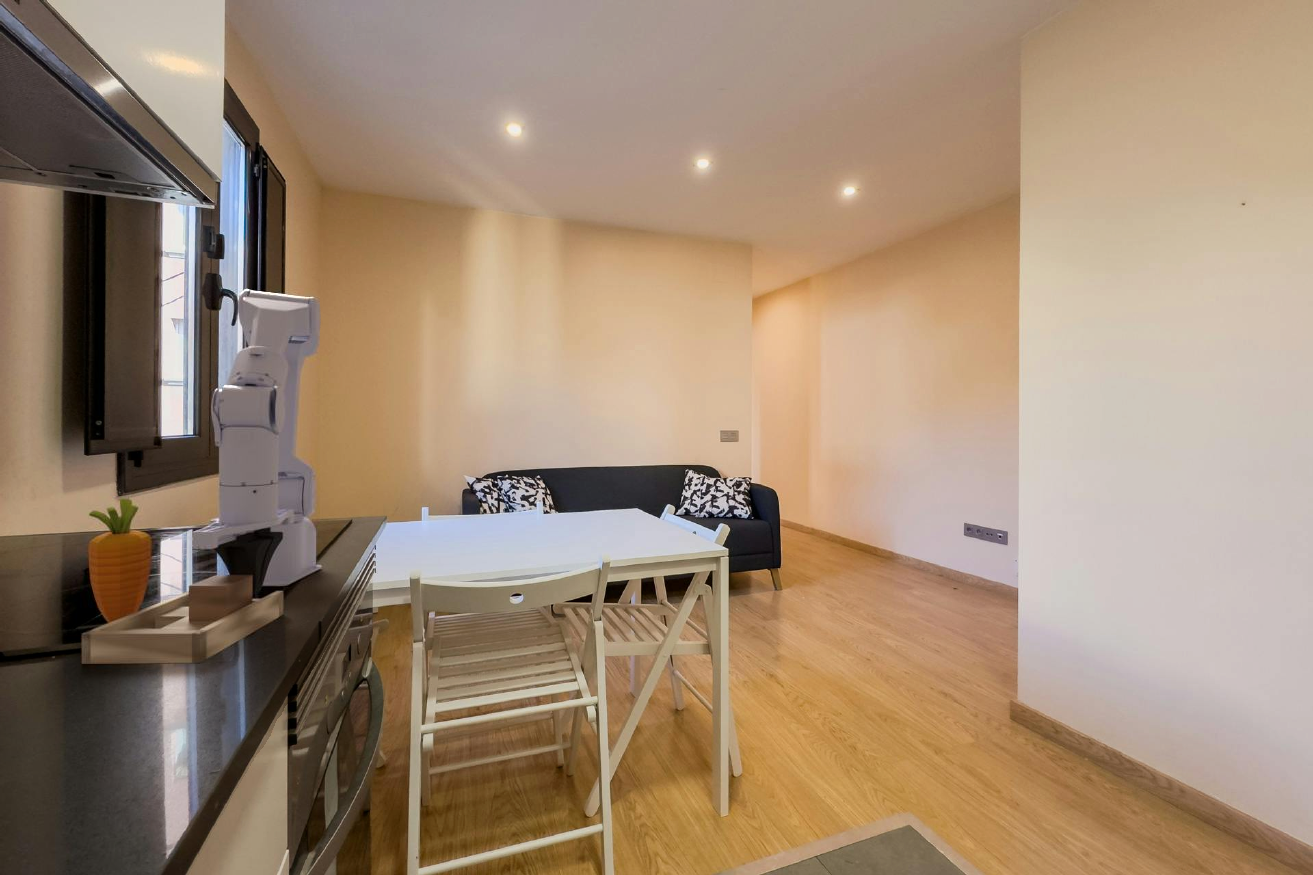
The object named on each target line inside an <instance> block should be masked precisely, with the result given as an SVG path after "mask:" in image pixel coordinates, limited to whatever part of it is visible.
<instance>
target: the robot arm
mask: <svg viewBox="0 0 1313 875" xmlns="http://www.w3.org/2000/svg"><path fill="white" fill-rule="evenodd" d="M320 305H321V304H320V302H319V300H318V299H317V298H316V296H310V297H308V296H307V297H306V296H299V295H290V294H284V293H274V292H266V291H257V290H252V289H248V288H246V289H244V290H243V291H241V293H240V294H239V297H238V305H237V306H238V308H237V310H238V312H237V313H238V320H239V323H240V325H241V329H242V332H243V335H244V339H245V341H246V342H247V345H248V347H244V348H242V349H241V350H239V351H238V352H237V354H236V356H235V357H234V358H235V359H234V360H233V364H232V367H231V369H230V372H229V373H230V374H229V376H228V379H227V382H226V384H224V386H223V387H222V389H220V388H216V389H214V392H213V394H212V398H211V405H210V406H211V407H210V410H211V411H210V413H211V420H212V424H213V425H212V426H213V429H214V430H213V431H214V442H215V443H214V444H215V445H214V446H215V447H218V461H219V462H218V517H217V518H213V519H210V520H209V525H207V526H205V527H202V528H200V529H197V530H194V531H192V549H193V550H214V551H215V552H216V553H217V555H218V556H219V558H220V559H221V560H222V562H223V564H224V565H225V567H226V570H227V571H228V575H253V581H252V596H254V595H256V594H259V593H260V592H262V591H261V590H262V588H263V587H285V586H289V585H291V584H292V583H294V582H296V581H298V580H301V579H303V578H305V577H306V576H308V575H311V574H313V573H314V572H316V571H318V570H320V569H322V568H323V566H322V564H317V530H316V527H315V526H316V525H314V523H313V522H312V520H311V519H309V518H308V517H311V516H312V514H313V513H315V508H316V503H317V502H316V501H317V485H316V472H315V470H314V469H313V468H314V467H312V465H310V464H309V463H308V462H306V461H304V460H303V459H301V458H299V457H298V456H296V452H297V436H298V418H299V405H300V404H299V403H300V402H299V401H300V400H299V399H300V388H301V386H300V385H301V372H302V369H303V365H304V362H305V359H306V358H308V357H310V356H313V355H316V354H317V353H318V347H320V334H321V333H320V332H321V306H320Z"/></svg>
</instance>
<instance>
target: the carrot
mask: <svg viewBox="0 0 1313 875" xmlns="http://www.w3.org/2000/svg"><path fill="white" fill-rule="evenodd" d="M119 505H120V506H119V508H120V509H119V510H120V514H121V515H119V513H118V511H117V509H116V508H115V507H113V506H111V507H107V508H106V511H107V513H108V515H109V516H108V515H106V513H103V512H101V511H97V510H92V511H90V512H89V514H88V516H90V517H93V518H95V519H97V520H99V521H100V522H102V523H103V524H105V525H106V527H107V528H108V529H109V532H105V533H102V534H100V535H97V536H95V537H94V538H93V539H91V540H90V541H89V544H88V548H87V549H88V568H89V569H88V570H89V580H90V586H91V589H92V592H93V597H94V600H95V602H96V605H97V608H98V610H99V612H100V613H101V614H102V617H103V618H104V620H106V622H107V624H108V623H110V622H113V621H115V620H118V619H120V618H123V617H125V616H128V615H130V614H133V613H135V612H138V611H139V610H140V609H139V608H140V607H141V605H142V603H143V601H144V598H145V594H146V592H147V591H146V590H147V587H148V582H149V578H150V575H151V574H150V573H151V563H152V562H151V561H152V543H153V542H152V538H151V535H150V534H148V533H147V532H145V531H140V530H137V529H135V530H134V529H131V524H132V521H133V520H134V517H135V515H136V513H137V512H138V510H139V507H138V506H137V505H136V504H133V501H132V500H131V499H129V498H122V499H120V500H119Z"/></svg>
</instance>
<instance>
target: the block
mask: <svg viewBox="0 0 1313 875" xmlns="http://www.w3.org/2000/svg"><path fill="white" fill-rule="evenodd" d="M252 581H253V575H229V574H216V575H215V574H214V575H213V576H210V577H208V578H205V579H203V580H200V581H198V582H194V583H192V584H190V585H188V591H189V621H218V620H220V619H222V618H224V617H226V616H228V615H230V614H232V613H234V612H236V611H238V610H240V609H242V608H244V607H246V606H248V605H250V604H252V599H253V595H252Z"/></svg>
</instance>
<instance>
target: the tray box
mask: <svg viewBox="0 0 1313 875" xmlns="http://www.w3.org/2000/svg"><path fill="white" fill-rule="evenodd" d="M281 616H284V591H283V590H276V591H274V592H271V593H270V594H267V595H266V596H264V597H262V598H252V604H250V605H248V606H246V607H244V608H242V609H240V610H238V611H236V612H234V613H232V614H230V615H228V616H226V617H224V618H222V619H220V620H218V621H189V590H188V591H186V592H183V593H181V594H177V595H176V596H174V597H171V598H168V599H165V600H164V601H161V602H158V603H155V604H154V605H151V606H148V607H145V608H143V609H141V610H140V609H139V610H138V611H137V612H135V613H133V614H130V615H128V616H125V617H123V618H120V619H118V620H115V621H113V622H110V623H108V622H107V623H106V624H103V625H100V626H98V627H95V628H93V629H91V630H87V631H85V632H83V633H81V664H84V665H86V664H87V665H88V664H90V665H93V664H94V665H95V664H97V665H98V664H100V665H101V664H107V665H109V664H110V665H111V664H201V663H203V662H205V661H206V660H208V659H210V658H212V657H213V656H215V655H216V654H218V653H220V652H221V651H223V650H225V649H227V648H228V647H230V646H232V645H233V644H235V643H236V642H238V641H240V640H242V639H244V638H246V637H247V636H249V635H250V634H252V633H254V632H256V631H258V630H259V629H261V628H263V627H264V626H266V625H269V623H271V622H273V621H274V620H275V621H276V619H278V618H279V617H281Z"/></svg>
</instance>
